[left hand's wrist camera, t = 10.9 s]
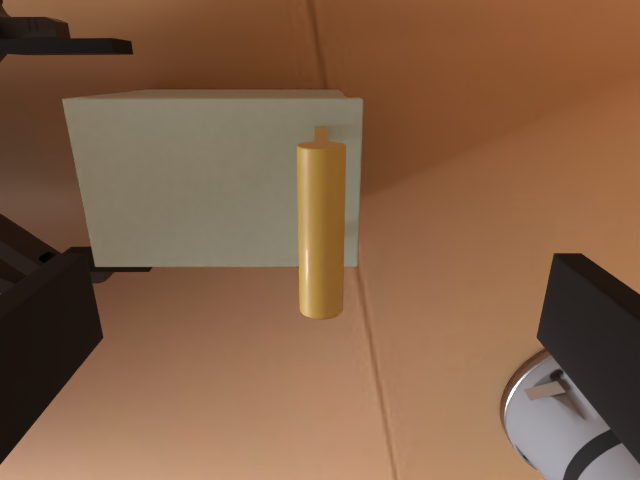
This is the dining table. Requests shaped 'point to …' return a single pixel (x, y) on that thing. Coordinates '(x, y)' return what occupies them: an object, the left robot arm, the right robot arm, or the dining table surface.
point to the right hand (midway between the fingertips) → (141, 161)
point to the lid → (223, 184)
